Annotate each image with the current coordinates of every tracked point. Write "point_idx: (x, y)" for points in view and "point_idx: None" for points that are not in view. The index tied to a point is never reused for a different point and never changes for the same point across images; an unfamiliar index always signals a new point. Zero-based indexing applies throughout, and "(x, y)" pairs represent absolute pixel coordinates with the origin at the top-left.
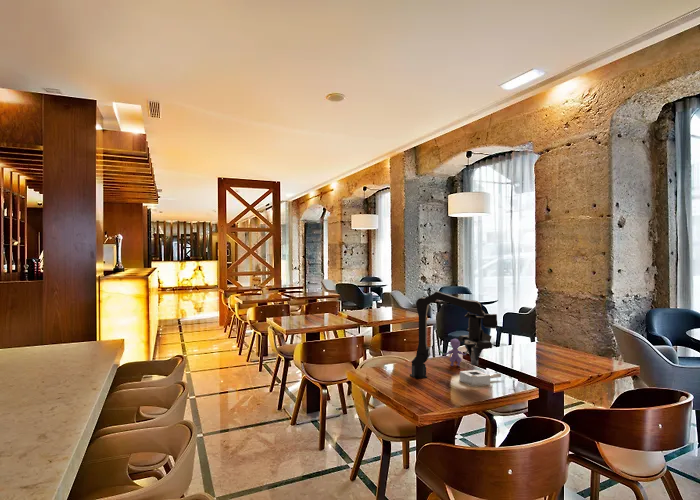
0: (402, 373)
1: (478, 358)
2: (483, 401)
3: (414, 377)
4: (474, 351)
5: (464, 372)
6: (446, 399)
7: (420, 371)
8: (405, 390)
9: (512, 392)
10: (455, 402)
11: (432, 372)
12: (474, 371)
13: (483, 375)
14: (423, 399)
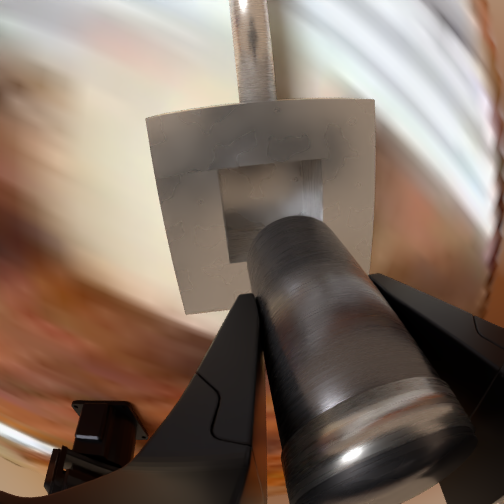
0: (73, 438)
1: (402, 290)
2: (489, 297)
3: (136, 437)
4: None
5: (224, 291)
6: None
7: (133, 448)
8: (281, 470)
9: (481, 79)
10: None
11: (24, 341)
12: (207, 178)
13: (362, 169)
14: None
